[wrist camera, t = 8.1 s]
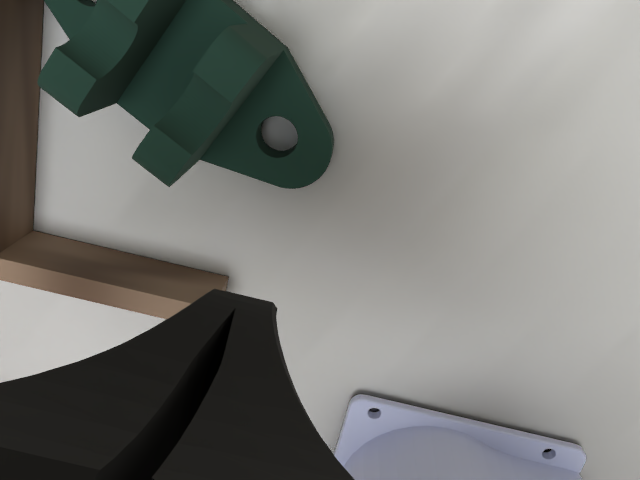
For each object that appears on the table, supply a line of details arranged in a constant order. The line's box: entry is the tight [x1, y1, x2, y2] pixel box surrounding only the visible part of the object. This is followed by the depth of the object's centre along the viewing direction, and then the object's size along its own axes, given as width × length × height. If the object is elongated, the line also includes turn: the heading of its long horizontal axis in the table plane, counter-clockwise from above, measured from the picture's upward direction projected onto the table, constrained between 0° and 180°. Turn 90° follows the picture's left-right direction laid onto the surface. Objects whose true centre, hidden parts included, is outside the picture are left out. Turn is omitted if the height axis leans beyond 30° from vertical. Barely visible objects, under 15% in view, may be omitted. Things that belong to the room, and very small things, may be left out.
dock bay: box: [0, 0, 229, 319], centre depth 18 cm, size 8×17×2 cm, turn 167°
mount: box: [37, 0, 334, 189], centre depth 17 cm, size 11×4×5 cm, turn 50°
